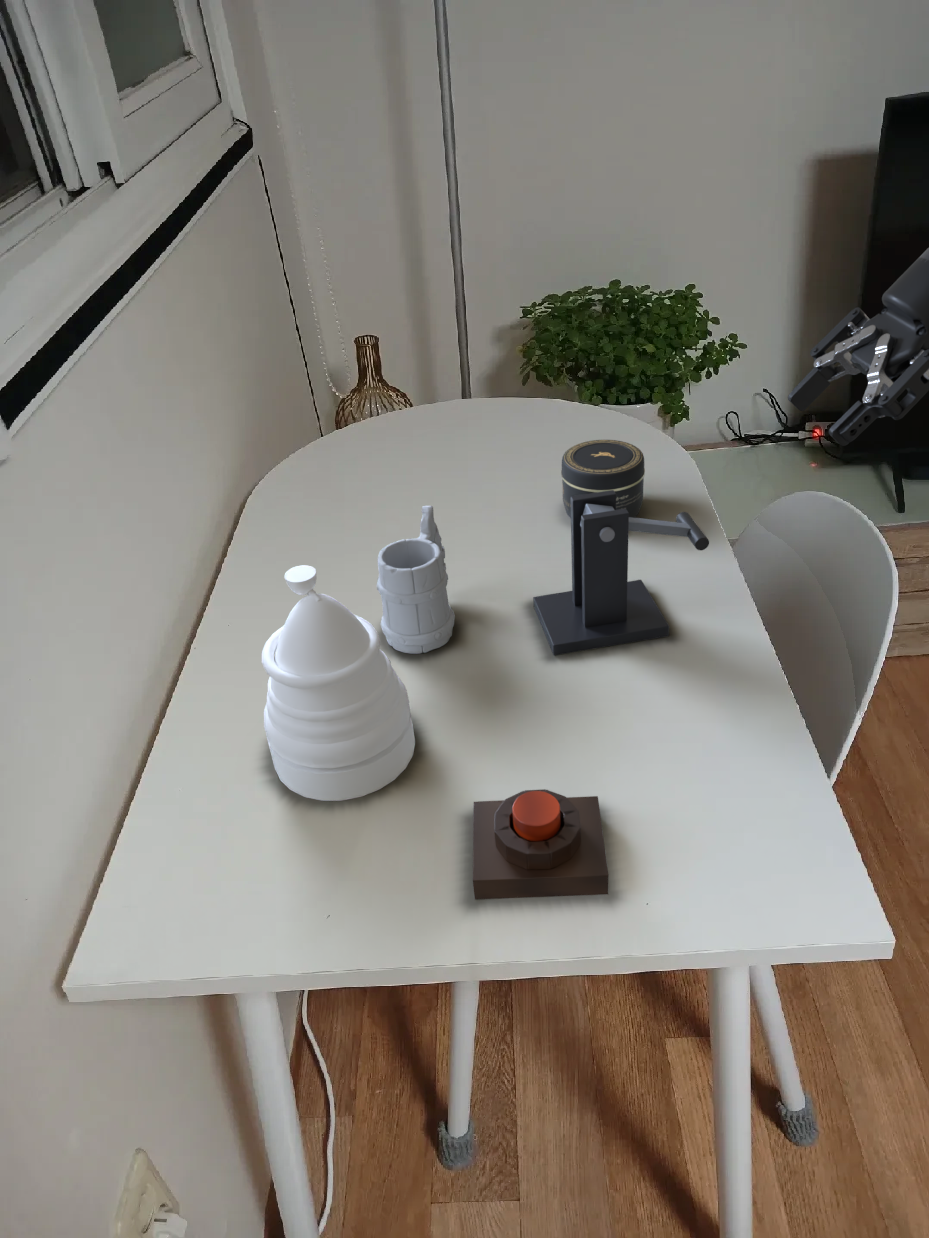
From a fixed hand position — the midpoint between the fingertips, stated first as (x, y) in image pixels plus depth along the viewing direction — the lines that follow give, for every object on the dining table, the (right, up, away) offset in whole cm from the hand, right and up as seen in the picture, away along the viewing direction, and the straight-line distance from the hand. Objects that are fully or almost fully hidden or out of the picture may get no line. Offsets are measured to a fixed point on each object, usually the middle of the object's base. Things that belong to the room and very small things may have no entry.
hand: (813, 422), depth 90 cm
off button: (-28, -34, -18) cm, 48 cm away
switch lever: (-16, -10, +4) cm, 19 cm away
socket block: (-27, -37, -16) cm, 49 cm away
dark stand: (-19, -19, +9) cm, 28 cm away
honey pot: (-44, -31, -4) cm, 54 cm away
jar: (-16, -5, +28) cm, 33 cm away
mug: (-37, -19, +12) cm, 44 cm away
